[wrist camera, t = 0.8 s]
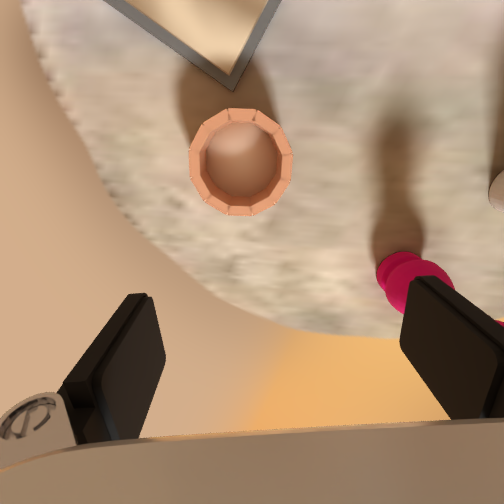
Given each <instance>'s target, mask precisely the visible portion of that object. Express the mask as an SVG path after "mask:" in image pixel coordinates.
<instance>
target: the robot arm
mask: <svg viewBox="0 0 504 504" xmlns="http://www.w3.org/2000/svg"><path fill="white" fill-rule="evenodd" d="M399 342H400V347H401V350H402V351H403V352H404V354H405V355H406V357H407V358H408V360H409V361H410V362H411V364H412V365H413V367H414V368H415V369H416V371H417V372H418V374H419V375H420V377H421V378H422V379H423V381H424V382H425V383H426V385H427V386H428V388H429V389H430V391H431V392H432V393H433V395H434V396H435V398H436V399H437V400H438V402H439V403H440V404H441V406H442V407H443V409H444V410H445V412H446V413H447V414H448V416H449V417H450V419H451V420H439V421H421V422H399V423H381V424H362V425H343V426H326V427H308V428H291V429H274V430H257V431H241V432H224V433H208V434H192V435H176V436H163V437H151V438H139V435H140V432H141V430H142V427H143V424H144V421H145V419H146V416H147V413H148V410H149V407H150V405H151V402H152V399H153V396H154V394H155V390H156V388H157V385H158V382H159V379H160V377H161V374H162V371H163V368H164V365H165V361H166V355H165V350H164V346H163V341H162V337H161V333H160V328H159V324H158V320H157V315H156V311H155V307H154V302H153V299H152V297H148V296H147V294H146V293H136V294H128V295H127V297H126V298H125V300H124V301H123V302H122V303H121V305H120V306H119V307H118V309H117V310H116V311H115V313H114V314H113V315H112V317H111V318H110V320H109V321H108V322H107V324H106V325H105V326H104V328H103V329H102V330H101V332H100V333H99V334H98V336H97V337H96V338H95V340H94V341H93V343H92V344H91V345H90V346H89V348H88V349H87V350H86V352H85V353H84V354H83V356H82V357H81V358H80V360H79V361H78V362H77V364H76V365H75V367H74V368H73V370H72V371H71V372H70V373H69V375H68V376H67V378H66V379H65V380H64V381H63V385H62V386H61V387H60V389H59V390H58V391H57V393H54V392H45V393H41V394H36V395H34V396H32V397H29V398H27V399H25V400H23V401H22V402H20V403H18V404H16V405H15V406H13V407H12V408H11V409H10V410H8V411H7V412H6V413H5V414H4V415H3V416H2V417H1V418H0V504H504V327H503V326H502V325H500V324H499V323H498V322H496V321H495V320H494V319H492V318H491V317H490V316H488V315H487V314H486V313H484V312H483V311H482V310H480V309H479V308H478V307H477V306H475V305H474V304H473V303H471V302H470V301H469V300H467V299H466V298H465V297H463V296H462V295H461V294H459V293H458V292H457V291H455V290H454V289H453V288H451V287H450V286H449V285H447V284H446V283H445V282H443V281H442V280H441V279H439V278H438V277H437V276H435V275H425V276H416V277H415V278H414V280H412V281H410V283H409V287H408V293H407V299H406V305H405V311H404V317H403V323H402V328H401V334H400V341H399Z"/></svg>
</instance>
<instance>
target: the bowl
mask: <svg viewBox="0 0 504 504" xmlns="http://www.w3.org/2000/svg"><path fill="white" fill-rule="evenodd" d="M279 127H280V125H278V124H277V123H276V122H274V121H273V120H271V119H270V118H268V117H267V116H266V115H264V114H263V113H261V112H260V111H259V110H257V112H256V109H240V108H228V110H227V108H226V109H225V110H223V111H221V112H220V113H218V114H216V115H215V116H213V117H211V118H210V119H208V120H206V121H205V122H203V124H201V126H200V128H199V130H198V132H197V134H196V136H195V138H194V140H193V142H192V144H191V145H190V147H189V149H191V150H189V169H190V177H192V178H191V181H192V182H193V184H194V186H195V187H196V189H197V191H198V192H199V194H200V196H201V197H202V199H203V201H204V200H206V201H205V203H207V204H209V205H210V206H212V207H214V208H216V209H217V210H219V211H221V212H222V213H224V214H227V212H228V215H235V216H252V214H253V216H254V215H256V214H257V213H259V212H261V211H263V210H265V209H267V208H269V207H271V206H273V205H275V204H274V202H275V203H277V201H278V200H279V198H280V197H281V195H282V194H283V192H284V191H285V189H286V188H287V186H288V185H289V183H290V182H289V181H291V171H292V160H293V154H291V153H293V152H292V150H291V148H290V145H289V143H288V141H287V139H286V136H285V134H284V132H283V130H282V127H281V128H279Z"/></svg>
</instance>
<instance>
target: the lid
mask: <svg viewBox="0 0 504 504" xmlns="http://www.w3.org/2000/svg"><path fill="white" fill-rule="evenodd" d="M124 1H126V2H127V3H129V4H130V5H131V6H133V7H134V8H136V9H137V10H138V11H140V12H141V13H142V14H144V15H145V16H147V17H148V18H149V19H151V20H152V21H154V22H155V23H156V24H158V25H159V26H161V27H162V28H163V29H165V30H166V31H167V32H169V33H170V34H172V35H173V36H174V37H176V38H177V39H179V40H180V41H181V42H183V43H184V44H186V45H187V46H188V47H190V48H191V49H192V50H194V51H195V52H197V53H198V54H199V55H201V56H202V57H204V58H205V59H206V60H208V61H209V62H211V63H212V64H213V65H215V66H216V67H217V68H219V69H220V70H222V71H223V72H224V73H226V74H227V75H230V73H231V71H232V70H233V68H234V66H235V64H236V62H237V60H238V58H239V56H240V54H241V52H242V50H243V48H244V46H245V44H246V42H247V41H248V39H249V37H250V35H251V33H252V31H253V29H254V27H255V25H256V23H257V21H258V19H259V17H260V15H261V13H262V12H263V10H264V8H265V6H266V4H267V2H268V0H124Z"/></svg>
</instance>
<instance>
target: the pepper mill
mask: <svg viewBox="0 0 504 504" xmlns="http://www.w3.org/2000/svg"><path fill="white" fill-rule="evenodd" d="M425 275H435V276H437V277H438V278H439V279H441V280H442V281H443V282H445V283H446V284H447V285H449V286H450V287H451V288H453V289H454V290H455V288H454V286H453V283H452V281H451V279H450V278H449V276H448V275H447V273H446V272H445V271H444V270H443V269H442V268H440V267H439V266H438V265H437V264H435V263H433V262H431V261H428V260H422V259H421V258H420V257H418V256H417V255H415V254H413V253H411V252H397V253H394V254H392V255H390V256H388V257H387V258H386V259H385V260H384V261H383V262H382V263H381V264H380V266H379V268H378V270H377V281H378V283H379V285H380V286H381V288H382V289H383V290H384V291H385V293H386V297H387V299H388V301H389V302H390V304H391V305H392V306H393V307H394V308H395V309H396V310H398V311H399V312H401V313H402V314H404V311H405V305H406V299H407V293H408V287H409V283H410V281H412V280H414V278H415V277H416V276H425ZM480 310H481V309H480ZM488 316H489V315H488ZM495 321H496V322H498V323H499V324H500V325H502V326H503V327H504V322H501V321H497V320H495Z"/></svg>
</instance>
